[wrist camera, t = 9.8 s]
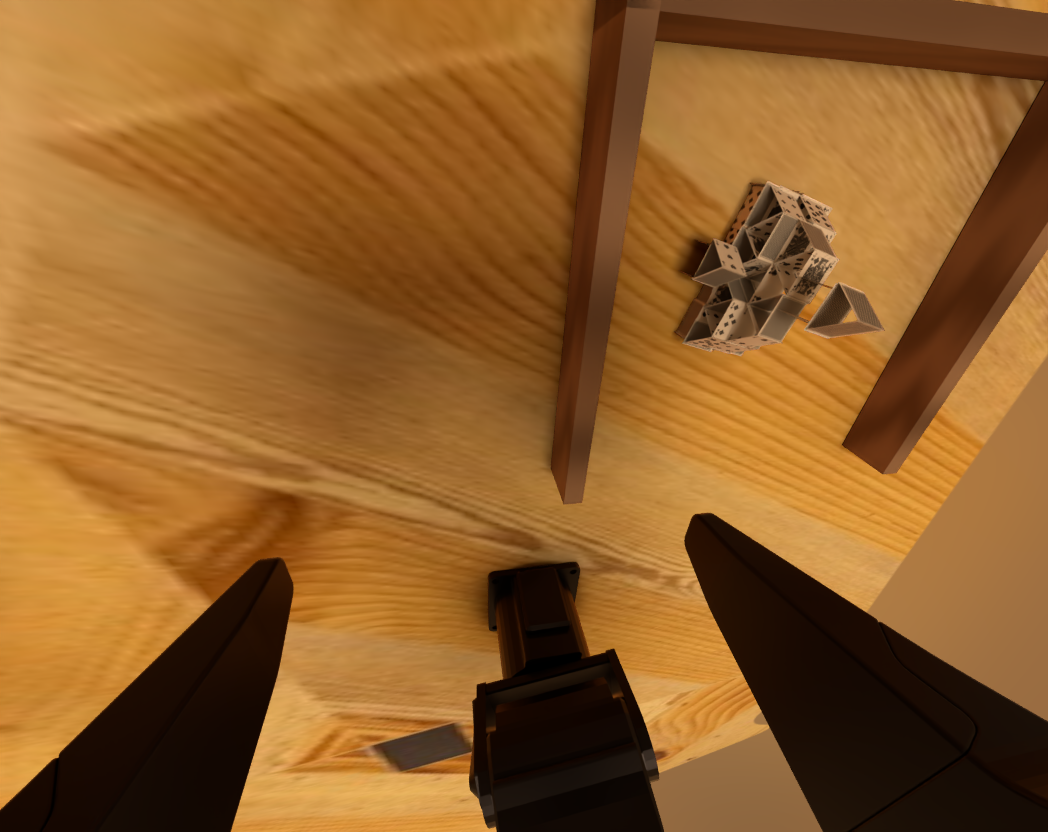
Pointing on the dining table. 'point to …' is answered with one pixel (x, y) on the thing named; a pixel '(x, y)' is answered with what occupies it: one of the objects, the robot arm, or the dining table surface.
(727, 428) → the dining table surface
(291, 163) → the dining table surface
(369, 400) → the dining table surface
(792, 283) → the house of cards
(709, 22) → the wooden arch
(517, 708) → the robot arm
